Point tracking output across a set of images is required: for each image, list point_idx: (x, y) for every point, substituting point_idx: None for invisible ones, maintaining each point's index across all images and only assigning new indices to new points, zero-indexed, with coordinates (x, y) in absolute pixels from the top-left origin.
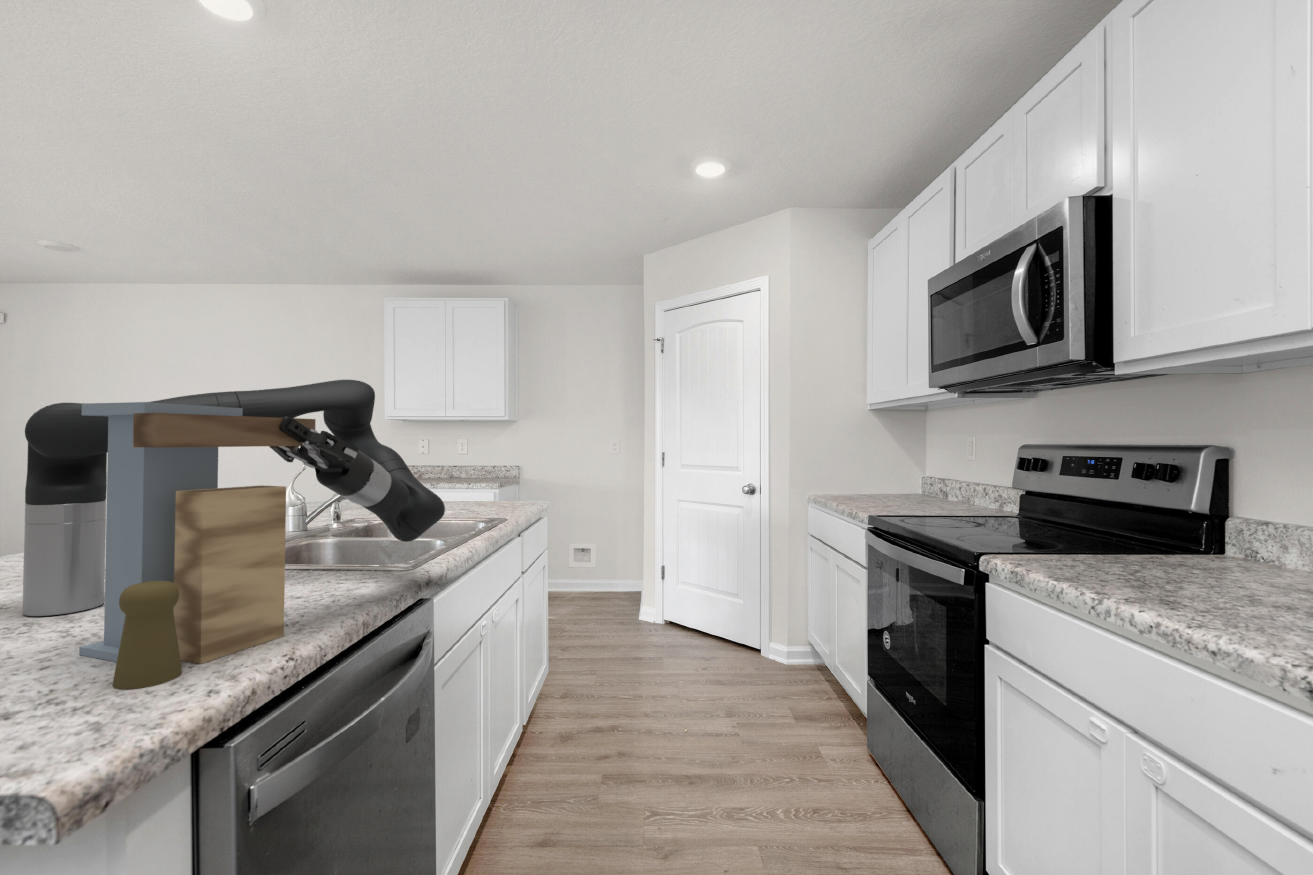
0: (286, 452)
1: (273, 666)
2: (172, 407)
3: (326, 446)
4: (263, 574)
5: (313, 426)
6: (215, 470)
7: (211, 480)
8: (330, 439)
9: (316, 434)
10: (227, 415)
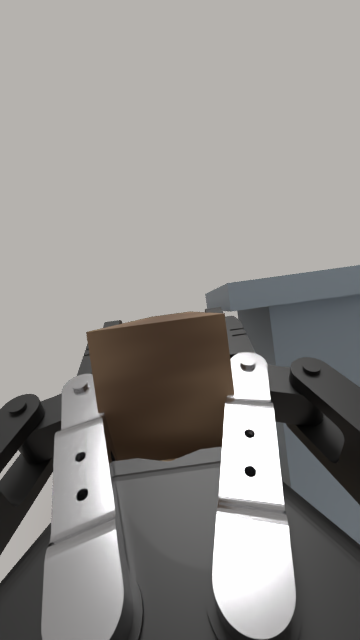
0: (356, 489)
1: None
2: (209, 297)
3: (13, 466)
4: None
5: (94, 368)
6: (282, 424)
7: (282, 442)
8: (6, 453)
9: (52, 403)
10: (223, 304)
